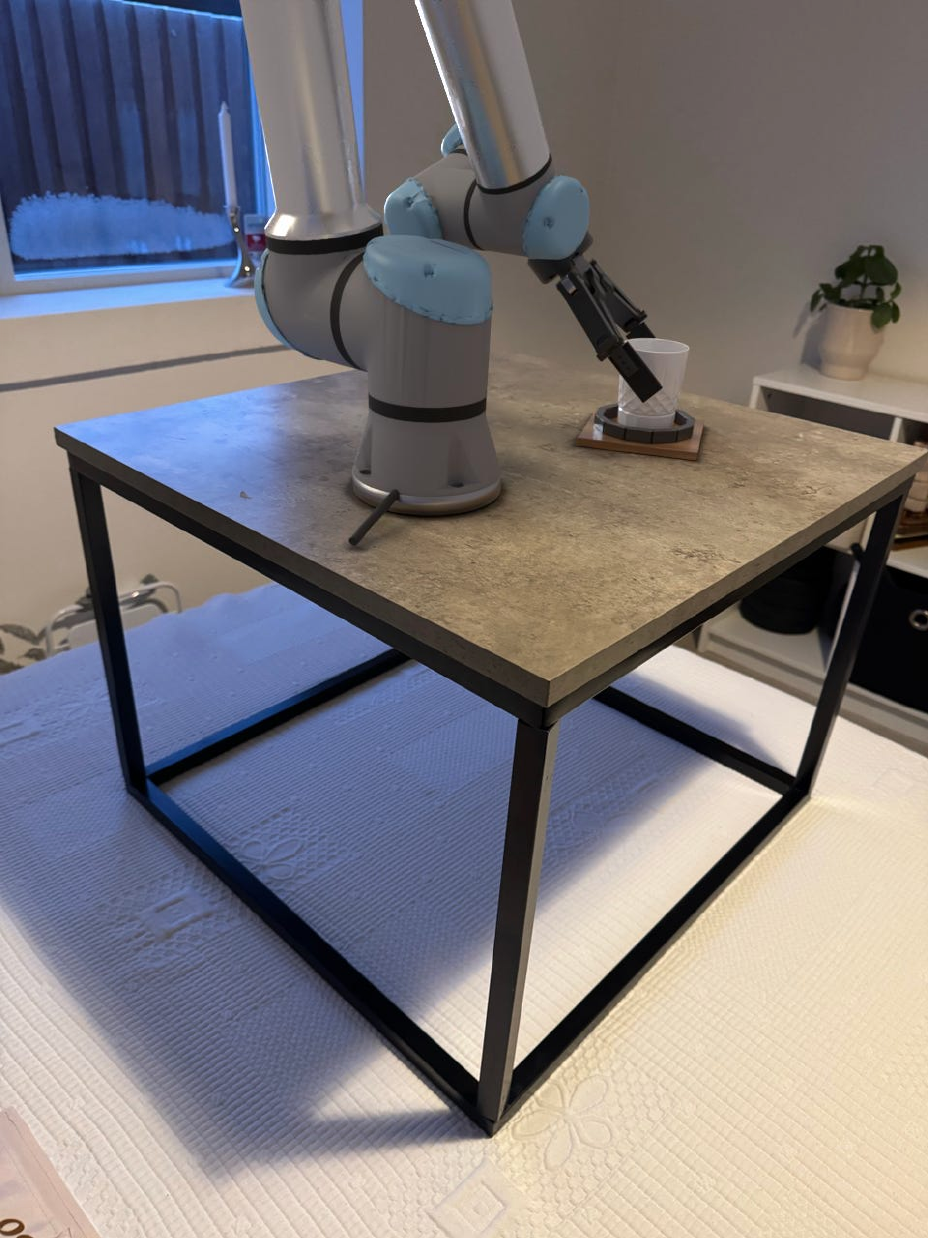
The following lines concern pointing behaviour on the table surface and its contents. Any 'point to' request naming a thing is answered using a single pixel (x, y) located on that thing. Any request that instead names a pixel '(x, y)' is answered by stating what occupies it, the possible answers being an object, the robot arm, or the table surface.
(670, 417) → the white cup
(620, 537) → the table surface
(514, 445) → the table surface
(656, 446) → the wooden coaster with ring
